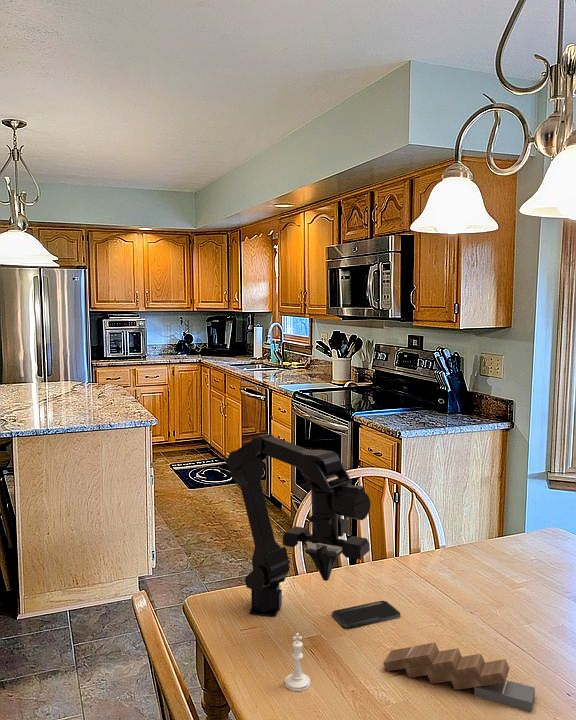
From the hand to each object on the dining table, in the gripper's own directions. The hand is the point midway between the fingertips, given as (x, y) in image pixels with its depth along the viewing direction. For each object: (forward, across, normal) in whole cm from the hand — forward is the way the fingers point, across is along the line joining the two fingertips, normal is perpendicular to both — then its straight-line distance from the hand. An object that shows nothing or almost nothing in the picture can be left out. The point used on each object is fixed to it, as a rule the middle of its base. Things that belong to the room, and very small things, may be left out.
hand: (326, 580), depth 135 cm
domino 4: (+13, -29, +3) cm, 32 cm away
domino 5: (+13, -33, +3) cm, 36 cm away
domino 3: (+13, -25, +3) cm, 28 cm away
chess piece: (+13, -3, +18) cm, 23 cm away
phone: (+14, -4, -13) cm, 19 cm away
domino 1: (+12, -16, +3) cm, 20 cm away
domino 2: (+12, -20, +3) cm, 24 cm away
